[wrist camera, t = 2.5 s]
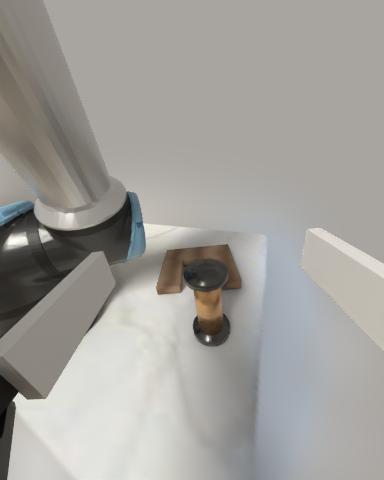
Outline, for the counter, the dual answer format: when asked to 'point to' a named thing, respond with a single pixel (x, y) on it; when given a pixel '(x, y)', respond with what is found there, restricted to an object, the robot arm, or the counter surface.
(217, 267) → the bobbin
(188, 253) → the notched board
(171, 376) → the counter surface
